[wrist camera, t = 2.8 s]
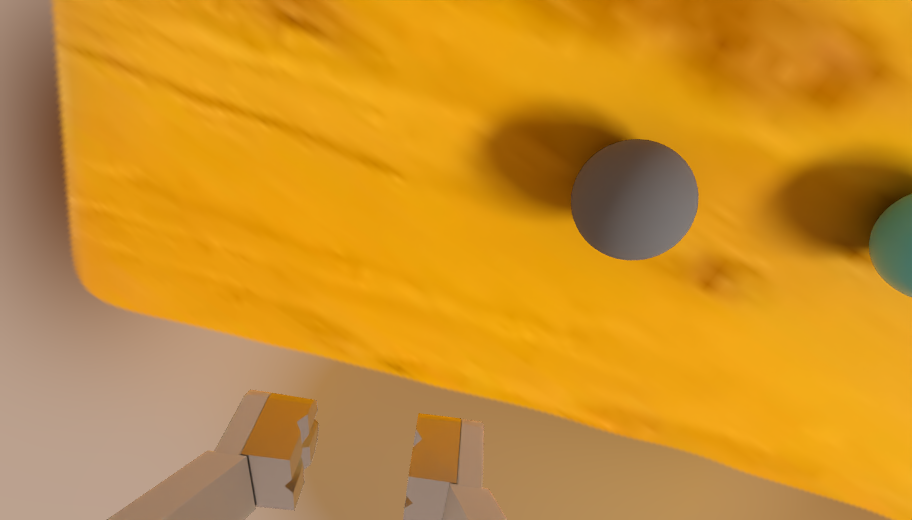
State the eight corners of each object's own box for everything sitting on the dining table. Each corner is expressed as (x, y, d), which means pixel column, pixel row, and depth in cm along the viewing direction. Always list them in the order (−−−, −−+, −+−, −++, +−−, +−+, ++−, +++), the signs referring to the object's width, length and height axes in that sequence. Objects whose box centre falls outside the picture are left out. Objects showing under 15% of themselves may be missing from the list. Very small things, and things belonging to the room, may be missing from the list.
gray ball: (542, 183, 27) (552, 238, 22) (623, 98, 24) (653, 140, 19) (617, 241, 28) (641, 304, 23) (700, 168, 26) (746, 221, 21)
